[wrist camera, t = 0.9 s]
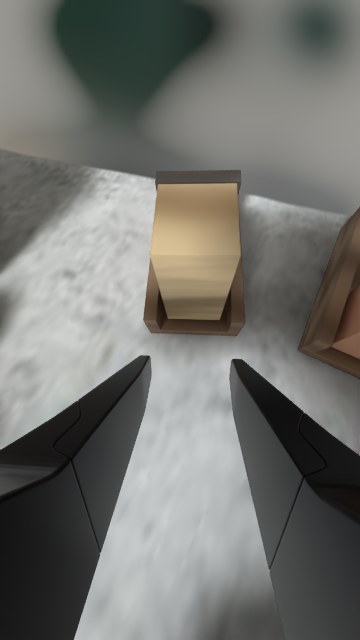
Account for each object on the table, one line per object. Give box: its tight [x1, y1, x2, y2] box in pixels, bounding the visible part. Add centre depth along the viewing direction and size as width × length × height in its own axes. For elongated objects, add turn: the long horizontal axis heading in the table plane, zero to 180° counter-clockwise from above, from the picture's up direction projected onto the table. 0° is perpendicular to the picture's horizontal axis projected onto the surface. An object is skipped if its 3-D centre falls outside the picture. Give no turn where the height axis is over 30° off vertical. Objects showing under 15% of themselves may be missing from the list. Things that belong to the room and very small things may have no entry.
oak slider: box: [150, 183, 241, 320], centre depth 16 cm, size 5×5×9 cm
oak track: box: [143, 170, 245, 336], centre depth 21 cm, size 15×8×5 cm, turn 177°
